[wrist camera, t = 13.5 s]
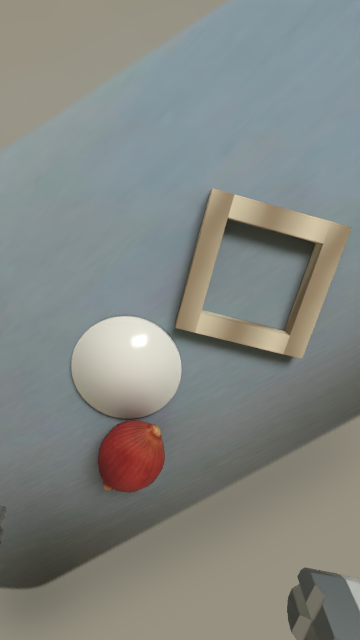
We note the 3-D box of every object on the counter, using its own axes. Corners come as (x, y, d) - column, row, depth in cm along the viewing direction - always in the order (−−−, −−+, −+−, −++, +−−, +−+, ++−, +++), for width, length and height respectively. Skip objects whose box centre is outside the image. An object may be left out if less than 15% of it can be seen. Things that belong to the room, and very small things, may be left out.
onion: (156, 401, 33) (110, 454, 35) (118, 402, 28) (66, 464, 30) (192, 449, 30) (140, 505, 32) (156, 460, 25) (96, 525, 27)
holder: (342, 227, 28) (351, 227, 26) (296, 352, 30) (302, 358, 29) (210, 190, 27) (212, 188, 25) (175, 323, 30) (175, 327, 28)
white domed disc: (193, 330, 30) (193, 332, 29) (166, 425, 32) (166, 428, 32) (83, 303, 29) (81, 304, 28) (65, 402, 31) (63, 406, 31)
